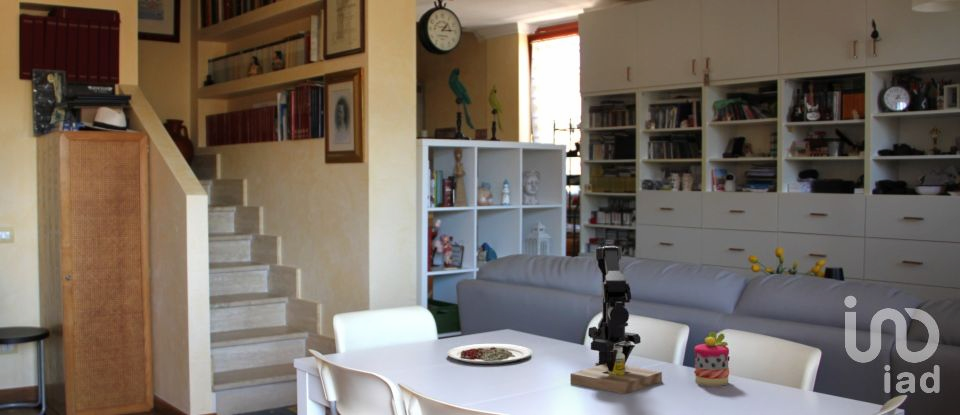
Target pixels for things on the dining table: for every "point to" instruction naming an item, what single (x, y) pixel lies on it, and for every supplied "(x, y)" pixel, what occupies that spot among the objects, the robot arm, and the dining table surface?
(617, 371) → the supplement bottle
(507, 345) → the plated food
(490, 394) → the dining table surface
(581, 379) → the socket block
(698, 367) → the cake
